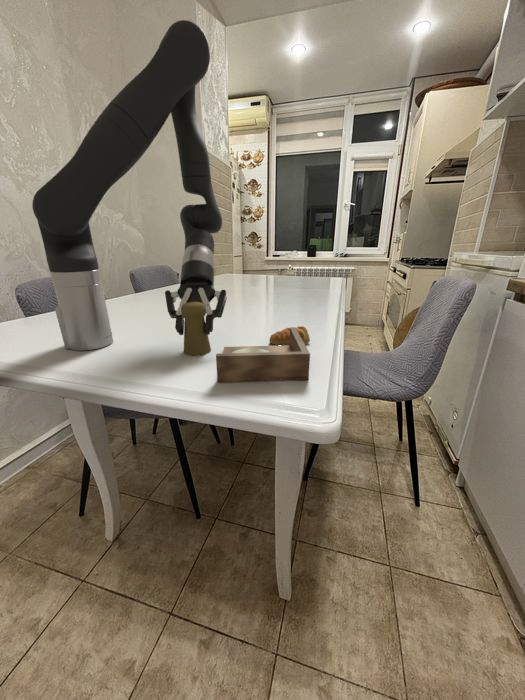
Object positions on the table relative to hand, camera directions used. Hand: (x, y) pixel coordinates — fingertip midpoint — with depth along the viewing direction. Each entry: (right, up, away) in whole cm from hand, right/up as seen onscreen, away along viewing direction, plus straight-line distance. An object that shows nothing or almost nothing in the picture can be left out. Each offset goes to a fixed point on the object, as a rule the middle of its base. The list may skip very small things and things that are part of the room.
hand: (194, 332), depth 62 cm
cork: (0, -4, +3) cm, 5 cm away
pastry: (+22, -2, +9) cm, 23 cm away
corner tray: (+14, -6, -3) cm, 16 cm away
